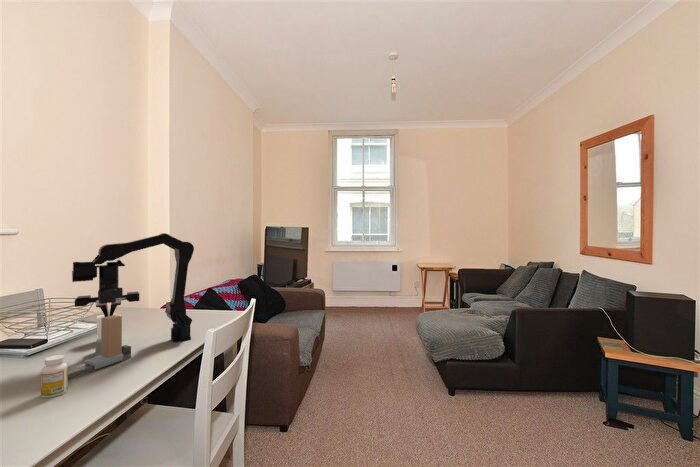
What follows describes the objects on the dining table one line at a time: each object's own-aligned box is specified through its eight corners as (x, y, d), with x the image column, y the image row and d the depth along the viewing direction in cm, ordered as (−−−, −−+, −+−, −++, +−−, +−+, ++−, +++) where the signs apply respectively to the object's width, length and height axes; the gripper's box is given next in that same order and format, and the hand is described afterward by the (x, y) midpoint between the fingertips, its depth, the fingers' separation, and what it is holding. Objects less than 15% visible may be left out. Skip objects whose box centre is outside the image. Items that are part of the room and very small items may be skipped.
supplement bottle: (51, 389, 93) (51, 354, 93) (72, 388, 94) (72, 353, 94) (35, 398, 88) (35, 361, 88) (57, 398, 88) (57, 360, 88)
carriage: (112, 357, 115) (112, 314, 115) (123, 359, 113) (123, 316, 113) (84, 366, 107) (84, 320, 107) (95, 369, 105) (95, 322, 105)
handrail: (125, 356, 118) (125, 345, 118) (131, 357, 117) (131, 346, 117) (47, 382, 97) (47, 369, 97) (53, 384, 96) (53, 370, 96)
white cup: (108, 344, 131) (108, 318, 131) (91, 342, 132) (91, 317, 132) (125, 338, 139) (125, 313, 139) (109, 336, 140) (109, 312, 140)
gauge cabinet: (120, 348, 126) (120, 334, 126) (119, 353, 121) (119, 339, 121) (97, 351, 123) (97, 337, 123) (95, 357, 117) (95, 343, 117)
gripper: (71, 284, 110) (71, 332, 110) (139, 280, 120) (139, 324, 120) (77, 280, 119) (77, 324, 119) (139, 276, 129) (139, 317, 129)
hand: (108, 322), depth 122 cm, fingers closed
